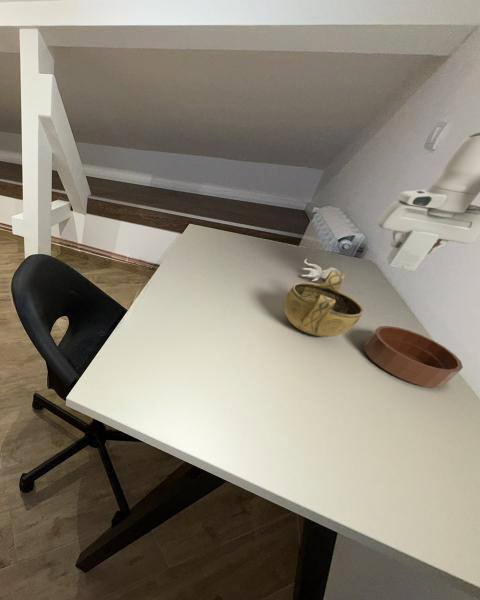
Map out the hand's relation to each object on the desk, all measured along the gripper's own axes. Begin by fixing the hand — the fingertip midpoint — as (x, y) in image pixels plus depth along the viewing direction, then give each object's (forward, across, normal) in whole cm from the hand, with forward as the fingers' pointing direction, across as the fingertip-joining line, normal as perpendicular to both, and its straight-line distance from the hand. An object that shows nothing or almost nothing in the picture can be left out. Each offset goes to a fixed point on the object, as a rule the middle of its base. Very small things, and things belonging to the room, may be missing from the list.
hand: (409, 250), depth 88 cm
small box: (+5, 0, 0) cm, 5 cm away
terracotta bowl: (+23, -2, +24) cm, 33 cm away
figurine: (+23, +10, -20) cm, 32 cm away
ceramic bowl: (+23, +19, +19) cm, 35 cm away
